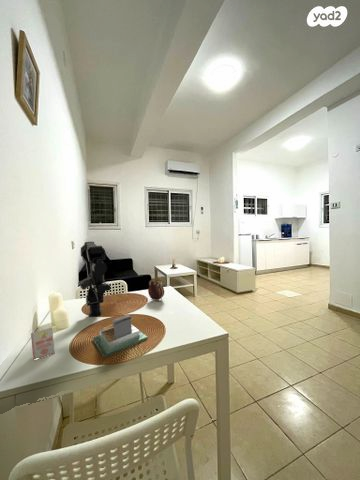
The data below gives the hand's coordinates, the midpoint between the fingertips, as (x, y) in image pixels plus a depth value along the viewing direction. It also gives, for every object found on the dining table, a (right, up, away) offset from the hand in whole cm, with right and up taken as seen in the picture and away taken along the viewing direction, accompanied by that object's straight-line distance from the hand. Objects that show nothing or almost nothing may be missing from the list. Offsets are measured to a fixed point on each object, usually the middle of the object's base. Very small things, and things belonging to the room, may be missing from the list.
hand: (99, 301), depth 99 cm
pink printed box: (-13, -14, -22) cm, 29 cm away
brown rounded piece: (+25, -9, +31) cm, 41 cm away
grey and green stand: (+14, -12, -14) cm, 23 cm away
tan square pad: (+11, -7, -10) cm, 17 cm away
